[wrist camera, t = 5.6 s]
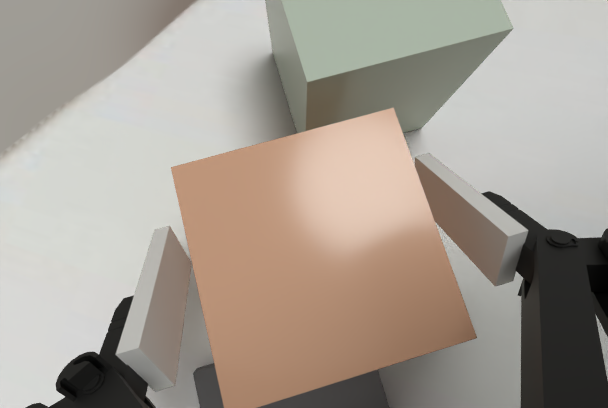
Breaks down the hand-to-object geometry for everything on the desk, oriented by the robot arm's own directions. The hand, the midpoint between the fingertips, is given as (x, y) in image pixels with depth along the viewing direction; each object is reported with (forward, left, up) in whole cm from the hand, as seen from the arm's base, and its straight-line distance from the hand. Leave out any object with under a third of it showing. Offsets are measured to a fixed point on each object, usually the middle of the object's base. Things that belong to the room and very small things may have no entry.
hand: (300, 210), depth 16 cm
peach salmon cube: (0, +2, -5) cm, 6 cm away
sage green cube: (-6, -9, -5) cm, 12 cm away
